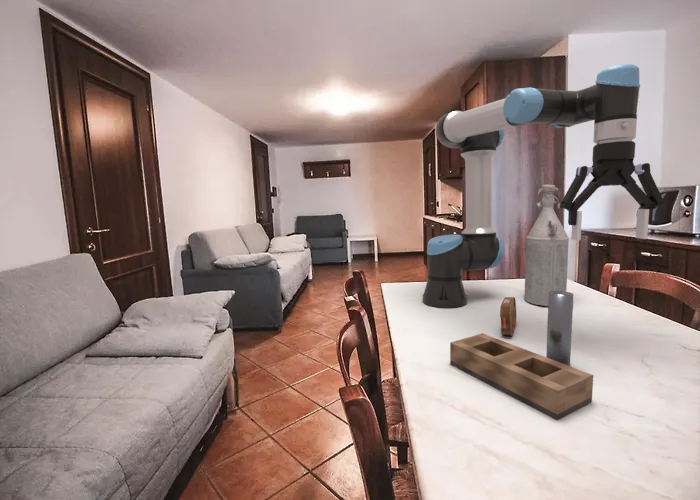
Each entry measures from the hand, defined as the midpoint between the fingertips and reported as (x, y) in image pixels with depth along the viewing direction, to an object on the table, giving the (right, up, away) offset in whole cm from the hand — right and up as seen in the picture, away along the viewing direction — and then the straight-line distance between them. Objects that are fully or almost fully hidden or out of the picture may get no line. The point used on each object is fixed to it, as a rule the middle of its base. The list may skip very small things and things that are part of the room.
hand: (608, 239), depth 82 cm
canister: (+8, -20, +42) cm, 48 cm away
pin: (-14, -27, -5) cm, 31 cm away
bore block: (-26, -28, -10) cm, 40 cm away
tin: (-15, -25, +17) cm, 34 cm away
